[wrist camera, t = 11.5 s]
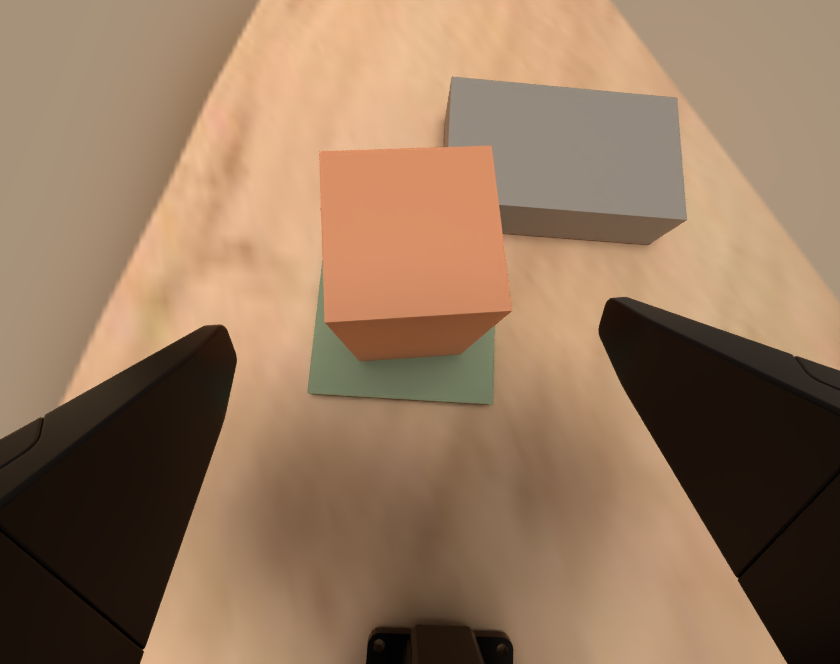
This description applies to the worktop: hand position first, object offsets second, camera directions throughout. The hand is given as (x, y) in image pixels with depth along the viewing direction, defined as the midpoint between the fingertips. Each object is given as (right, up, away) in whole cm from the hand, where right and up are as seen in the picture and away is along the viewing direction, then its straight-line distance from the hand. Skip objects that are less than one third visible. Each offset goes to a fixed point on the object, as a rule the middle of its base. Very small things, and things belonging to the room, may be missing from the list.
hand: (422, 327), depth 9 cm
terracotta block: (-1, +1, +10) cm, 10 cm away
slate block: (+7, +9, +13) cm, 17 cm away
